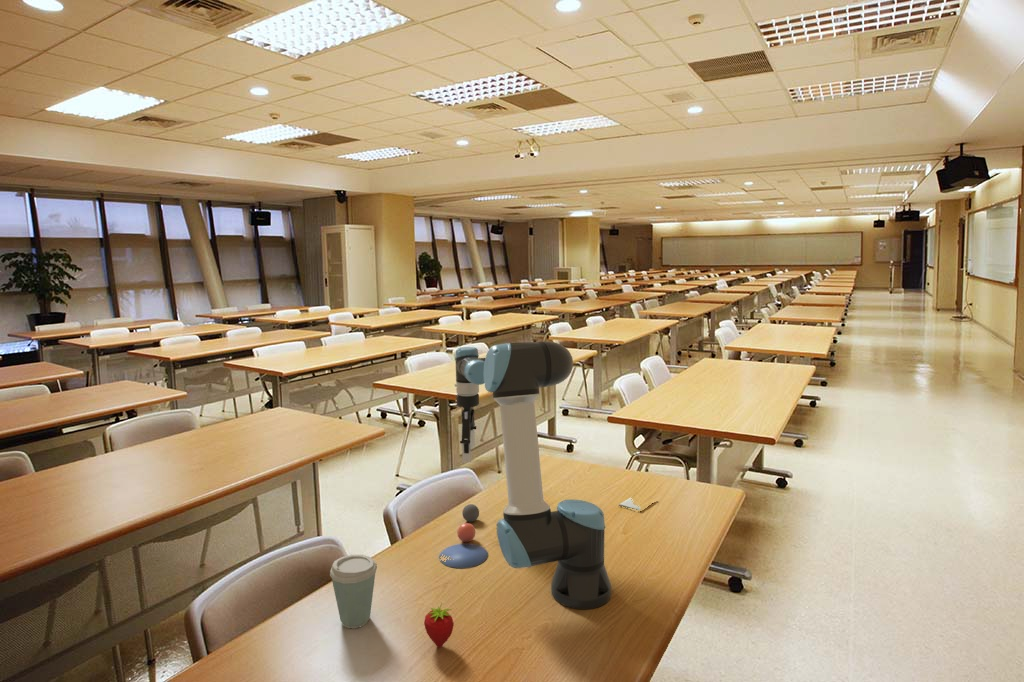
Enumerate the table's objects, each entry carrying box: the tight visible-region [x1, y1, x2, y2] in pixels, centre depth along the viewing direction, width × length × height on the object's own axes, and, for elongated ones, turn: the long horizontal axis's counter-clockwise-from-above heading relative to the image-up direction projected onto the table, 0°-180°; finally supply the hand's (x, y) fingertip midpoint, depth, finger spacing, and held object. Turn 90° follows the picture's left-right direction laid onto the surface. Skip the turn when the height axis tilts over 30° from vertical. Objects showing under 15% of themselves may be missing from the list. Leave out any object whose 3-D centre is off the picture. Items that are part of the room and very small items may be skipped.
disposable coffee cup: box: [329, 554, 378, 629], centre depth 136 cm, size 11×11×15 cm
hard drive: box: [618, 497, 641, 510], centre depth 201 cm, size 2×8×12 cm
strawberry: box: [423, 602, 455, 648], centre depth 127 cm, size 6×8×10 cm
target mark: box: [438, 543, 489, 569], centre depth 167 cm, size 14×14×1 cm
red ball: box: [457, 522, 476, 543], centre depth 176 cm, size 6×6×6 cm
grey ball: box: [462, 503, 480, 523], centre depth 189 cm, size 6×6×6 cm
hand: (469, 455), depth 196 cm, fingers open, 13 cm apart
